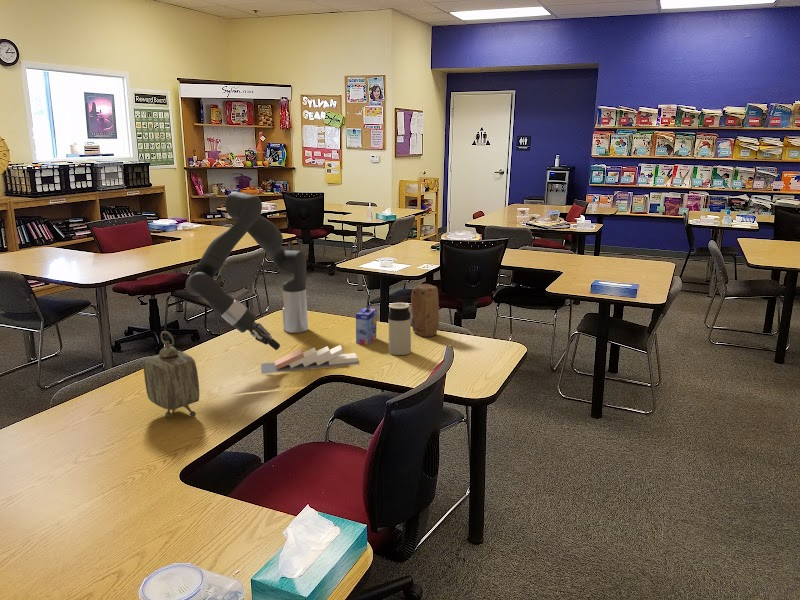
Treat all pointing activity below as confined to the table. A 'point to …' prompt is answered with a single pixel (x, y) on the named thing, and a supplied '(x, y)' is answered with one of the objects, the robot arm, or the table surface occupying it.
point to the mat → (299, 367)
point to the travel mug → (399, 329)
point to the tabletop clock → (171, 378)
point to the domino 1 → (289, 359)
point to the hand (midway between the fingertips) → (278, 347)
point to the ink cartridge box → (366, 325)
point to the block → (425, 310)
